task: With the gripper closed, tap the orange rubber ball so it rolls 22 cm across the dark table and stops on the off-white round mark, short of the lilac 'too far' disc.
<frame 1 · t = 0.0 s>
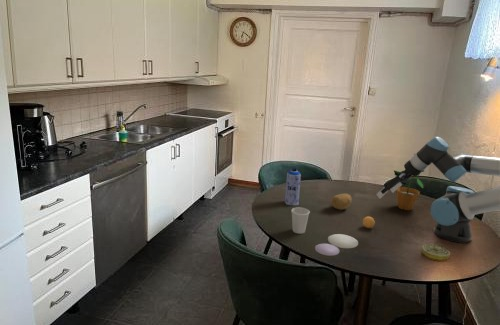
hand: (385, 193, 180), 15 cm above the table, tool tilted 35°, fingers open, 13 cm apart
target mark: (342, 241, 162), on the table
decorated donut: (434, 256, 153), on the table
aerosol can: (291, 203, 205), on the table
potato: (340, 208, 200), on the table
potted plant: (405, 207, 205), on the table
dixie cup: (298, 231, 171), on the table
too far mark: (327, 249, 154), on the table
ball: (368, 222, 177), on the table
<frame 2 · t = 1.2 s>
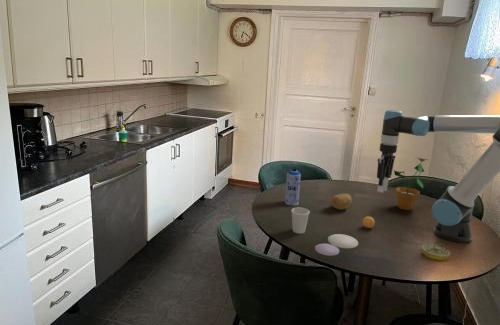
hand: (382, 190, 179), 17 cm above the table, tool pointing down, fingers open, 3 cm apart
nothing on the table moved.
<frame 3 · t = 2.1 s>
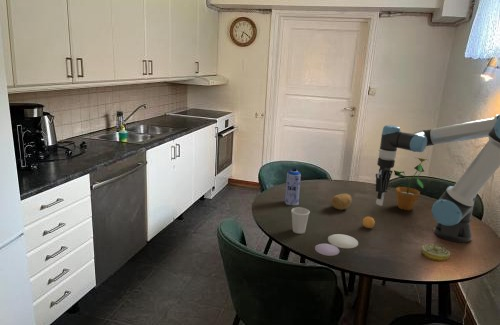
hand: (379, 204, 182), 9 cm above the table, tool pointing down, fingers closed
nothing on the table moved.
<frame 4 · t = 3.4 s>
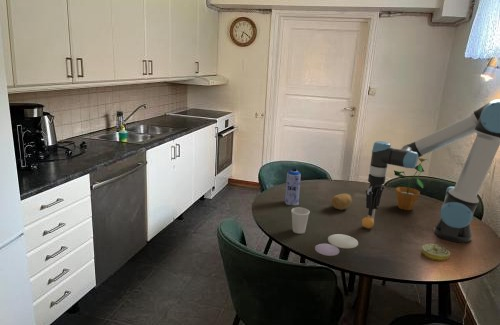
hand: (370, 221, 179), 2 cm above the table, tool pointing down, fingers closed
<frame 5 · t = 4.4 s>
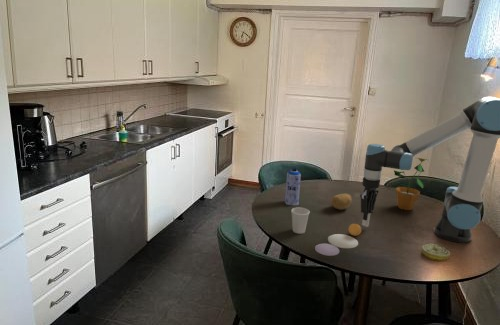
hand: (365, 225, 175), 2 cm above the table, tool pointing down, fingers closed
ball: (354, 229, 168), on the table
everything else where it was.
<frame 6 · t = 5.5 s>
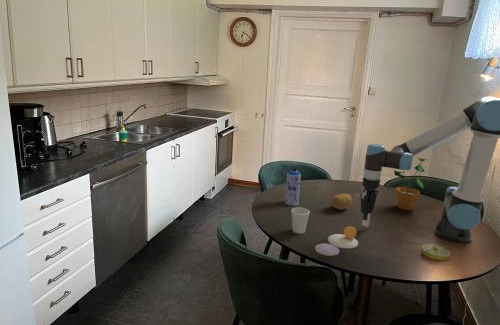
hand: (365, 225, 175), 2 cm above the table, tool pointing down, fingers closed
ball: (350, 232, 165), on the table
everything else where it was.
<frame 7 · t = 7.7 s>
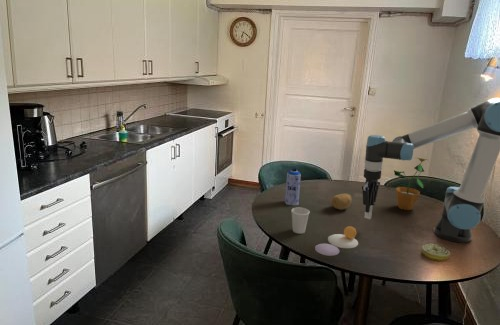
hand: (367, 217, 174), 6 cm above the table, tool pointing down, fingers closed
nothing on the table moved.
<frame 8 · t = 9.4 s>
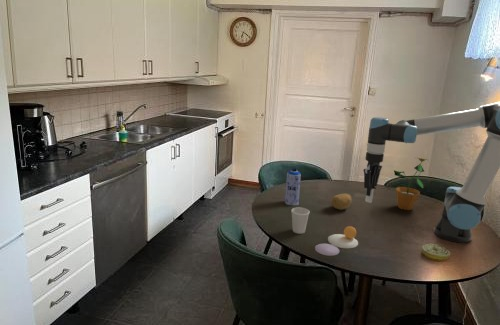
hand: (368, 201, 172), 14 cm above the table, tool pointing down, fingers closed
nothing on the table moved.
at the end: ball 5.0 cm from the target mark (horizontally); ball at rest at the end (0.0 cm/s); ball moved 17.0 cm from its start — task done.
